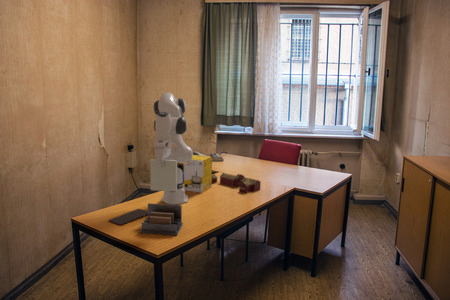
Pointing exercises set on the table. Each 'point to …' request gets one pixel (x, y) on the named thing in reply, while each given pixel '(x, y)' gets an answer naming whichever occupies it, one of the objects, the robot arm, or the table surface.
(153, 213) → the block
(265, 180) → the table surface
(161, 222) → the offcut front
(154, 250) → the table surface
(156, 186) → the white thin panel
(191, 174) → the packaging box
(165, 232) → the rack
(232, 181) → the toy houses
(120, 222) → the smartphone
